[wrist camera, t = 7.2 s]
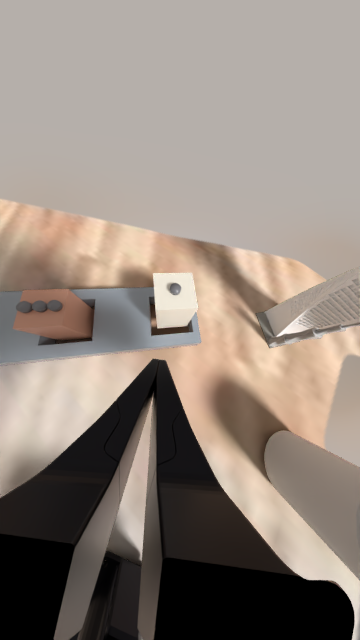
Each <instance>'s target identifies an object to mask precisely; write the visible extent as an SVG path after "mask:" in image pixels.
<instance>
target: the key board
mask: <svg viewBox="0 0 360 640" xmlns="http://www.w3.org/2000/svg"><path fill="white" fill-rule="evenodd" d="M70 291H71V292H72V293H74V294H75V295H76V296H77V297H78V298H80V299H81V300H82V301H83V302H85V303H86V304H87V305H88V306H89V307H95V312H94V324H93V336H92V341H86V342H75V343H64V344H55V339H52V338H48V337H44V336H40V335H36V334H32V333H28V332H23V331H19V330H15V329H13V325H14V322H15V318H16V314H17V310H16V305H17V304H18V303H19V302H20V299H21V296H22V292H23V291H8V292H0V366H3V365H13V364H22V363H32V362H41V361H51V360H60V359H70V358H79V357H89V356H98V355H108V354H118V353H127V352H137V351H146V350H156V349H165V348H175V347H184V346H194V345H198V344H200V343H201V338H200V332H199V325H198V319H197V313H196V312H195V314H194V315H193V317H192V318H191V320H190V322H189V323H188V327H189V333H177V334H166V335H155V336H152V328H151V310H150V304H155V295H154V287H143V288H109V289H75V290H70Z"/></svg>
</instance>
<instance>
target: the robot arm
mask: <svg viewBox="0 0 360 640" xmlns="http://www.w3.org/2000/svg"><path fill="white" fill-rule="evenodd" d="M153 393H154V394H153ZM152 397H153V404H152V419H151V434H150V449H149V464H148V479H147V493H146V508H145V523H144V538H143V553H142V567H140V566H138V565H136V564H134V563H132V562H130V561H128V560H126V559H124V558H121V557H119V556H117V555H115V554H113V553H111V552H106V548H107V545H108V542H109V539H110V535H111V532H112V529H113V525H114V522H115V519H116V516H117V512H118V509H119V504H120V502H121V499H122V496H123V493H124V489H125V486H126V483H127V479H128V476H129V473H130V470H131V466H132V463H133V460H134V456H135V453H136V450H137V447H138V443H139V440H140V437H141V433H142V430H143V427H144V424H145V420H146V417H147V414H148V411H149V407H150V404H151V401H152ZM105 560H107V561H108V562H105ZM353 629H354V610H353V607H352V604H351V601H350V599H349V597H348V596H347V594H346V593H345V592H344V591H343V589H342V588H341V587H340V586H339V585H338V584H337V583H336V582H334V581H328V580H306V579H304V578H302V577H301V576H299V575H298V574H296V573H295V572H293V571H292V570H291V569H290V568H289V567H288V566H287V565H286V564H285V563H284V562H283V561H282V560H281V559H280V558H279V557H278V556H277V555H276V553H275V552H274V551H273V550H272V549H271V547H270V546H269V545H268V544H267V542H266V541H265V540H264V539H263V538H262V536H261V535H260V534H259V533H258V532H257V530H256V529H255V528H254V527H253V525H252V524H251V523H250V522H249V521H248V519H247V518H246V517H245V516H244V515H243V513H242V512H241V511H240V510H239V508H238V507H237V506H236V505H235V504H234V502H233V501H232V500H231V499H230V498H229V496H228V495H227V494H226V492H225V491H224V490H223V488H222V487H221V485H220V484H219V482H218V480H217V479H216V477H215V475H214V473H213V471H212V469H211V467H210V465H209V463H208V461H207V459H206V457H205V455H204V453H203V451H202V449H201V447H200V445H199V443H198V441H197V439H196V437H195V435H194V433H193V431H192V428H191V426H190V424H189V421H188V419H187V416H186V414H185V411H184V409H183V406H182V403H181V400H180V398H179V395H178V392H177V389H176V387H175V384H174V381H173V379H172V376H171V373H170V370H169V368H168V365H167V362H166V361H165V360H159V359H152V360H151V361H150V363H149V364H148V365H147V366H146V367H145V368H144V369H143V370H142V372H141V373H140V374H139V375H138V376H137V377H136V378H135V379H134V380H133V382H132V383H131V384H130V385H129V386H128V387H127V388H126V389H125V391H124V392H123V393H122V394H121V395H120V396H119V397H118V398H117V400H116V401H115V402H114V403H113V404H112V405H111V406H110V407H109V408H108V409H107V410H106V412H105V413H104V414H103V415H102V416H101V417H100V418H99V419H98V420H97V421H96V422H95V423H94V424H93V425H92V426H91V427H90V428H88V429H87V430H86V431H85V432H84V433H83V434H82V435H81V436H80V437H79V438H78V439H77V440H76V441H75V442H73V443H72V444H71V445H70V446H69V447H68V448H67V449H66V450H65V451H64V452H63V453H62V454H61V455H60V456H58V457H57V458H56V459H55V460H54V461H53V462H52V463H51V464H50V465H48V466H47V467H46V468H45V469H44V470H42V471H41V472H40V473H38V474H37V475H36V476H34V477H33V478H31V479H30V480H28V481H27V482H25V483H24V484H22V485H21V486H19V487H17V488H16V489H14V490H12V491H11V492H9V493H8V494H6V495H4V496H3V497H1V498H0V640H352V635H353Z"/></svg>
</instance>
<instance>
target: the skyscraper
mask: <svg viewBox="0 0 360 640" xmlns="http://www.w3.org/2000/svg"><path fill="white" fill-rule="evenodd" d="M256 315H257V318H258V321H259V323H260V326H261V328H262V331H263V333H264V336H265V338H266V341H267V343H268V346H269V348H273V347H277V346H282V345H286V344H292V343H295V342H300V341H301V340H307V339H321V337H322V336H323V335H324V334H328V333H332V332H341V331H345V330H346V328H350V327H355V326H360V267H357V268H355V269H352V270H350V271H348V272H345V273H343V274H341V275H338V276H336V277H334V278H331V279H329V280H327V281H325V282H323V283H321V284H318V285H316V286H314V287H312V288H310V289H308V290H306V291H304V292H302V293H300V294H298V295H296V296H294V297H292V298H290V299H288V300H286V301H284V302H282V303H280V304H278V305H276V306H274V307H272V308H271V309H269V310H267V311H265V312H261V313H256Z"/></svg>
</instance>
